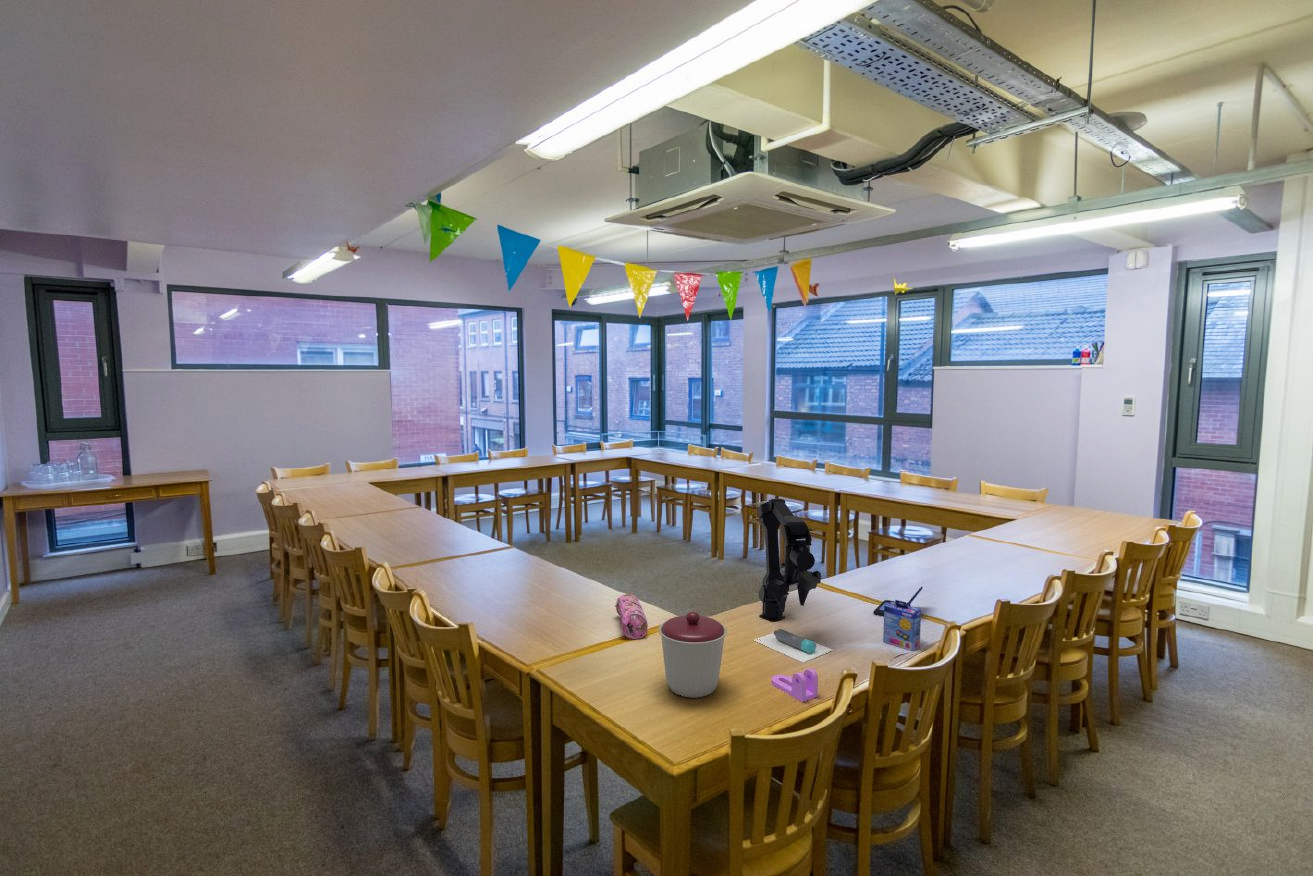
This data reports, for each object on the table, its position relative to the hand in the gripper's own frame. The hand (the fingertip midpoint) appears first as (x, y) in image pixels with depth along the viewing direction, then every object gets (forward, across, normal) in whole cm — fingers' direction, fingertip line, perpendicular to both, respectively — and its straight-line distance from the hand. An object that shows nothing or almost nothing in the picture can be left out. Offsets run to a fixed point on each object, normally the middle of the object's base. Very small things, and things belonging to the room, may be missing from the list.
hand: (792, 608), depth 201 cm
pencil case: (+11, -35, +39) cm, 53 cm away
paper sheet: (+10, -3, -3) cm, 11 cm away
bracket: (+10, -25, -22) cm, 34 cm away
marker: (+10, -2, -3) cm, 10 cm away
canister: (+10, -46, -5) cm, 47 cm away
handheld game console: (+12, +50, -6) cm, 52 cm away
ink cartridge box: (+11, +25, -23) cm, 36 cm away
